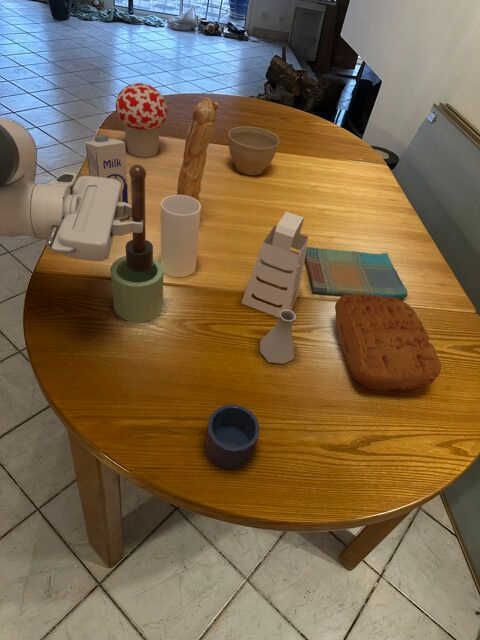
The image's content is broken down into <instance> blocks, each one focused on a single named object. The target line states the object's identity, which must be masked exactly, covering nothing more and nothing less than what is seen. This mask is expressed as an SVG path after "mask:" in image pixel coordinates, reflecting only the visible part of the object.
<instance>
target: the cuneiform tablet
mask: <svg viewBox="0 0 480 640" xmlns="http://www.w3.org/2000/svg"><path fill="white" fill-rule="evenodd" d="M334 310H335V311H334V312H335V324H336V328H337V329H336V330H337V334H338V336H339V337H338V338H339V342H340V344H341V349H342V351H343V353H344V356H345V359H346V362H347V366H348V368H349V370H350V372H351V374H352V377H353V378H354V379H355V380H356V382H358V383H359V384H360V385H362V386H364V387H365V388H367V389H370V390H375V391H390V390H397V389H398V390H400V391H402V390H403V391H404V390H414V389H422V388H424V387H428V386H430V385H431V384H433V383H434V382H435V381H436V379H438V378H439V376H440V374H441V370H442V364H441V362H440V359H439V357H438V353H437V351H436V348H435V346H434V345H433V344H432V343H431V342H429V341H430V336H429V333H428V332H427V330H426V328H425V327H424V325H423V321H422V320H421V319H420V318H419V316H418V315H417V312H416V311H415V309H414V308H413V307H412V306H411V305H409V304H408V303H407V302H405V301H403V300H402V299H399V298H393V297H384V296H377V295H361V294H346V295H340V297H338V298H337V300H336V302H335V305H334Z"/></svg>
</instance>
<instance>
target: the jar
mask: <svg viewBox="0 0 480 640" xmlns="http://www.w3.org/2000/svg"><path fill="white" fill-rule="evenodd" d="M164 274H165V272H164V271H163V267H162V265H161V263H160V261H159V260H158V259H156V258H154V257H153V266H152V268H151V269H150V270H148V271H145V272H135V271H132V270H130V269H129V268H128V267H127V265H126V255H124V256H121V257H118V258H117V259H116V260H115V261H114V262H113V263H112V264H111V267H110V279H111V289H112V291H111V292H112V300H113V301H112V302H113V309H114V312H115V314H117V316H118V317H119V318H120V319H121V320H125V321H127V322H131V323H144V322H150V321H153V320H154V319H156V318H157V317H158V316H159V315H160V314H161V312H162V310H163V308H164V307H163V306H164Z"/></svg>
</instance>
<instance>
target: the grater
mask: <svg viewBox="0 0 480 640" xmlns="http://www.w3.org/2000/svg"><path fill="white" fill-rule="evenodd" d="M304 220H305V217H304V216H301V215H298V214H294V213H292V212H290V211H285V213H284V214H283V215H282V217H281V219H280V220H279V222H278V223H277V224H276V225H274V226H273V227H272V229H271V230H270V231H269V233H268V234H267V236H265V238H264V240H263V242H262V244H261V247H260V249H259V252H258V255H257V257H256V259H255V260H256V261H255V264H254V265H253V269H252V272H251V275H250V277H249V280H248V283H247V284H246V288H245V291H244V294H243V297H242V299H241V302H240V304H241V305H245V306H247V307H250V308H253V309H255V310H258V311H260V312H263V313H266V314H268V315H270V316H274V317H276V318H278V319H279V311H281V310H284V309H288V310H292V308H293V306H294V304H295V303H296V300H297V298H298V296H299V294H300V291H301V290H300V289H301V283H302V278H303V273H304V265H305V254H306V248H307V247H308V241H309V236H308V235H305V234H302V233H301V231H302V227H303V224H304ZM291 248H292V249H294V250H292V249H291ZM295 250H297V251H295ZM258 278H259V280H262V281H265V282H267V283H270V284H272V285H275V286H277V287H275V286H272V285H269V284H266V283H263V282H262V281H259V280H258ZM278 287H281V288H284V289H281V288H278ZM285 288H286V289H285ZM253 296H254V297H255V298H254V297H253ZM256 298H258V299H261V300H263V301H265V302H263V301H261V300H258V299H256ZM266 302H267V303H266ZM268 303H271V304H273V305H271V304H268ZM274 305H276V306H280V305H281V307H276V306H274Z"/></svg>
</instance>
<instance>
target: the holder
mask: <svg viewBox="0 0 480 640" xmlns="http://www.w3.org/2000/svg"><path fill="white" fill-rule="evenodd" d="M260 431H261V427H260V424H259V421H258V418H257V417H256V416H255V414H254V413H253V412H252V411H251V410H249V409H248V408H246V407H245V406H243V405H238V404H224V405H222V406H220V407H218V408H216V409H215V410H214V411H213V412H212V413H211V415H210V416H209V418H208V422H207V426H206V433H205V439H204V451H205V454H206V456H207V458H208V460H210V462H211V463H212V464H214V465H215V466H217V467H218V468H221V469H225V470H237V469H239V468H242V467H244V466H245V465H247V464H248V462H249V461H250V460H251V459H252V457H253V455H254V451H255V448H256V445H257V443H258V440H259V437H260Z"/></svg>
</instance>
